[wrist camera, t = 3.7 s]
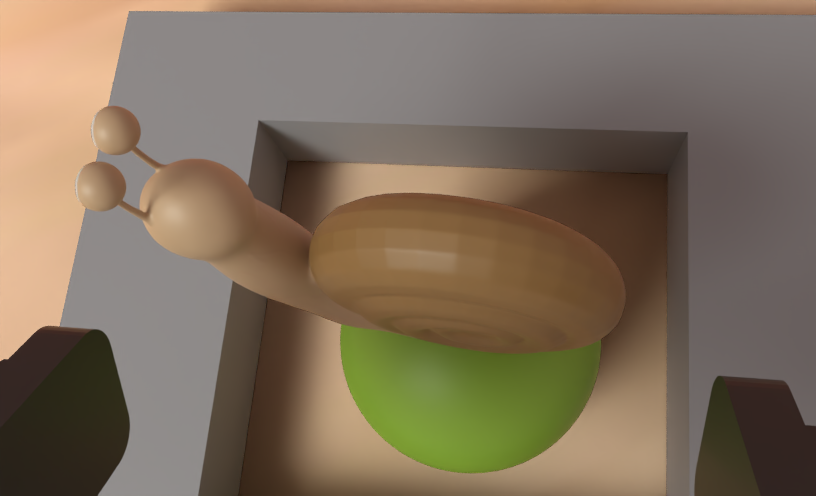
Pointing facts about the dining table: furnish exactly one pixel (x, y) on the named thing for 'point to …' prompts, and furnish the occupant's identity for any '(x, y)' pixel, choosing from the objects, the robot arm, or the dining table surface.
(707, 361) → the gray square frame
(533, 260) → the snail figurine
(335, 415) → the dining table surface
